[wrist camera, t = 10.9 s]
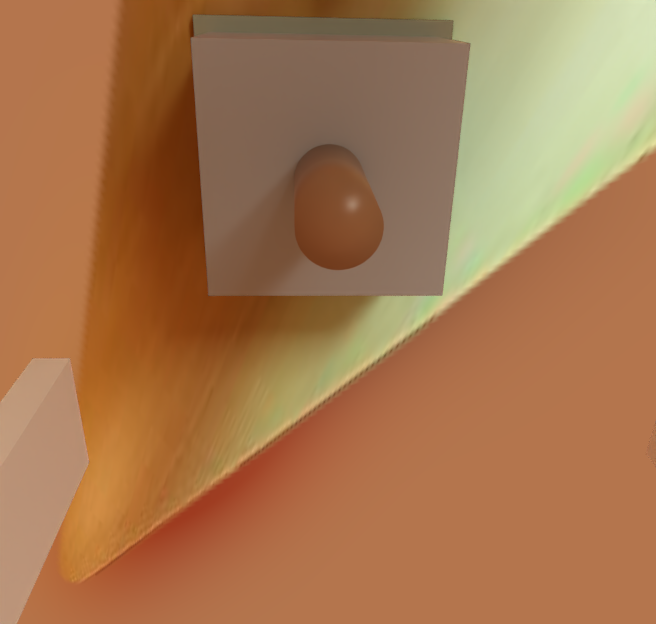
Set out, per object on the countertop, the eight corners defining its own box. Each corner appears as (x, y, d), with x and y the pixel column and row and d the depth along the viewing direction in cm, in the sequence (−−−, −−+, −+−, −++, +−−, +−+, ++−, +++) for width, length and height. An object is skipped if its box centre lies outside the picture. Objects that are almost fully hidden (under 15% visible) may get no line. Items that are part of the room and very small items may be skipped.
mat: (451, 20, 37) (453, 20, 36) (428, 259, 43) (429, 261, 43) (193, 14, 36) (192, 14, 35) (209, 259, 42) (208, 261, 42)
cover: (437, 36, 37) (526, 54, 23) (418, 249, 42) (480, 368, 28) (210, 31, 36) (157, 47, 22) (222, 248, 42) (186, 370, 28)
